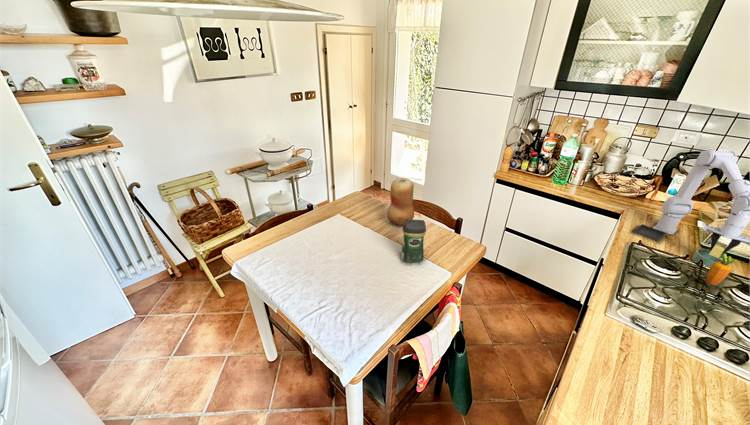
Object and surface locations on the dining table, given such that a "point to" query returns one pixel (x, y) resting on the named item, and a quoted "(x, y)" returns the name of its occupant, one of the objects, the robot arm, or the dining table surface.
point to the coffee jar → (413, 241)
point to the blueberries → (643, 320)
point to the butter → (718, 249)
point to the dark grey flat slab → (649, 232)
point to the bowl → (706, 257)
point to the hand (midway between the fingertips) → (716, 251)
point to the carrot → (719, 270)
